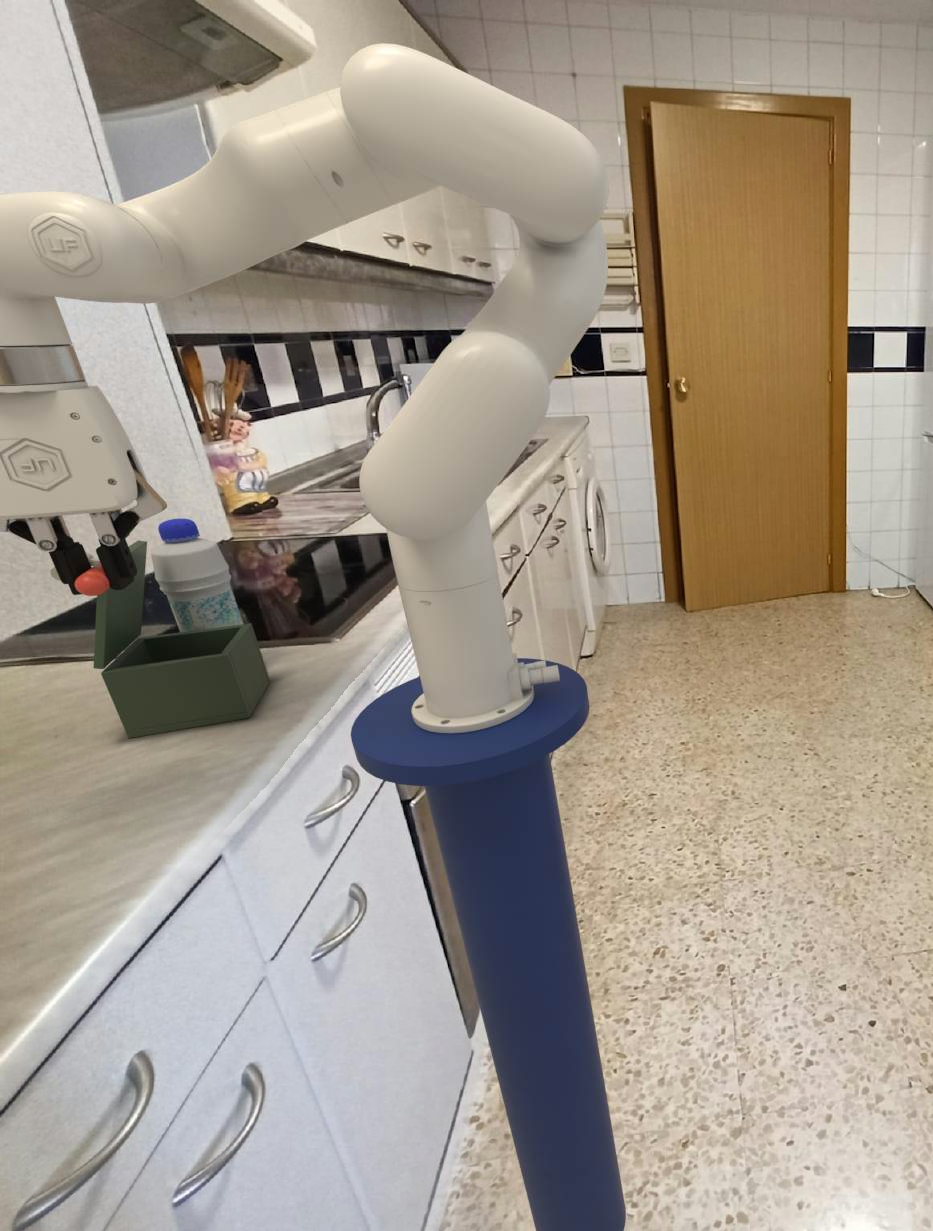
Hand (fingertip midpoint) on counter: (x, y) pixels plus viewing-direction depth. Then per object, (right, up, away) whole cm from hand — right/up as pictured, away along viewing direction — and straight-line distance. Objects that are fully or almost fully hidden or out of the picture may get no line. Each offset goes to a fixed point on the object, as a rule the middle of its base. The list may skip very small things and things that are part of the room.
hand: (104, 586), depth 64 cm
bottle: (-10, -10, +26) cm, 29 cm away
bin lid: (-9, -1, +12) cm, 15 cm away
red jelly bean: (0, 0, 0) cm, 0 cm away
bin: (-7, -13, +18) cm, 23 cm away
